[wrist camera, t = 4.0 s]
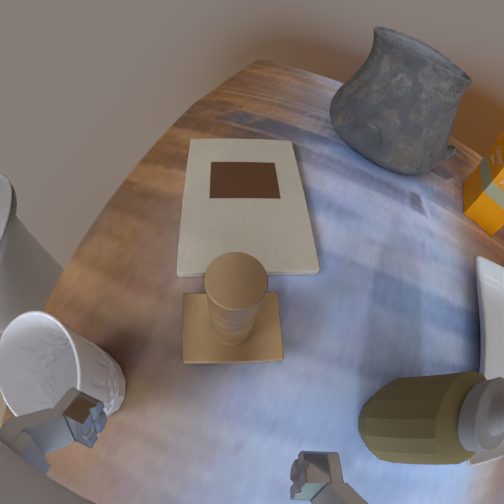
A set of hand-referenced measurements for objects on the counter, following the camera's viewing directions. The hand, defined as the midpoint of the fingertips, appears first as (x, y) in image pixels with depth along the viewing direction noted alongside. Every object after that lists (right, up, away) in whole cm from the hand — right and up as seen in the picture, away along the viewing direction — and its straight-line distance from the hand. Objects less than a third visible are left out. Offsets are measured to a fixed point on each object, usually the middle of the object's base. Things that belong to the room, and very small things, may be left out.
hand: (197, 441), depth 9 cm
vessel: (+24, +24, +32) cm, 47 cm away
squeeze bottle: (+15, -9, +12) cm, 21 cm away
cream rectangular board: (+1, +14, +24) cm, 27 cm away
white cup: (-12, -5, +12) cm, 18 cm away
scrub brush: (0, 0, +16) cm, 16 cm away
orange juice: (+43, +15, +29) cm, 54 cm away
